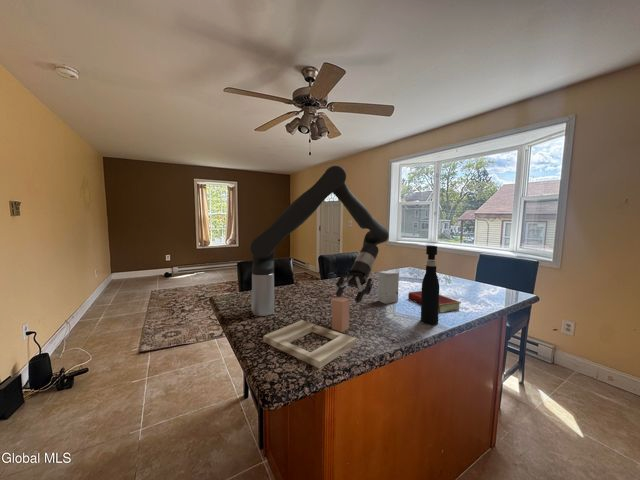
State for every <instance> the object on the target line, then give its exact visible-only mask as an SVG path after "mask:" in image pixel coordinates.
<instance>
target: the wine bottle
mask: <svg viewBox="0 0 640 480" xmlns="http://www.w3.org/2000/svg"><path fill="white" fill-rule="evenodd" d="M425 251H426V253H425V254H426V255H427V260H426V265H425V274H424V275H423V278H422V281H421V291H422V294H421V304H420V322H421V323H422V322H423V324H425V325H429V324H430V325H429V326H434V325H438V324H439V315H440V314H439V295H440V282H439V278H438V275H437V263H436V255H438V246H437V245H426V250H425Z"/></svg>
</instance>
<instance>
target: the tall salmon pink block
mask: <svg viewBox="0 0 640 480" xmlns="http://www.w3.org/2000/svg"><path fill="white" fill-rule="evenodd" d="M348 329H350V298H346V297H344V296H343V297H342V296H341V297H334V298H333V299H331V330H333V331H336V332H339V333H344V332H345V331H347V330H348Z"/></svg>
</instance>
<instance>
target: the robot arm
mask: <svg viewBox="0 0 640 480" xmlns="http://www.w3.org/2000/svg"><path fill="white" fill-rule="evenodd" d="M346 180H347V172H346V170H345V169H344V167H342V166H340V165H331V166H330V167H328V168H327V169H326V170H325V172H324V173H323V174H322V176H320V178H319V179H318V180H317V181H316V182H315V183H314V184H313V185H312V186H311V187H310V188H308V189H307V190H306V191H304V192H303V193H302V194H301V195H299V196H298V197H297V198H296V199H295V200H294V201H292V202H291V203H290V204H289V206H288V207H286V209H284V210H283V212H282V213H280V215H279V216H278V217H277V219H276V220H275V221H274V222H273V224H271V225H270V226H269V227H268V228H267V229H266V230H264V231H263V232H262V233H260V234H259V235H258V236H256V237H255V238H254V239H253V240H252V241H251V243H250V247H249V249H250V253H251V254H252V265H251V290H250V303H251V304H250V305H251V307H250V308H251V311H250V313H252V315H253V316H257V317H266V316H270V315H273V314H274V313H275V250H276V249H275V248H277V247H278V245H280V243H281V242H282V241H283V240H284V239H285V238H286V237H287V236H289V235H290V234H291V233H292V232H294V231H296V230H297V229H298V228H299V227H300V226H301V225H303V224H304V223H305V222H306V221H307V220H308V219H309V218H310V217H311V216H312V215H313V214H314V212H316V210H317V209H318V208H319V207H320V206H321V204H322V203H323V202H324V200H325V199H327V198H328V197H329V196H330V195H331V194H333V195H334V196H335V197H336V198H337V199H338V200H339V201H340V202H341V204H342V205H343V206H344V208H346V210H347V211H348V213H349V214H350V216H351V217H352V218H353V220H354V221H355V223H357V226H359V228H361V229H362V230H364V229H368V231H367V232H366V234H365V236H364V239H363V243H362V247H361V250H360V251H359V253H358V254H357V257H356V258H355V260H354V262H353V264H352V266H351V268H350V270H349V273H348V274H346V275H345V274H344V273H341V274H340V277H339V278H338V279H337V281H336V284H335V285H336V287H337V292H336V293H335V298H337V297H342V296H343V293H344V291H345V290H346V289H349V288H355V289H358V290H359V291H357V294H356V296H355V298H354V302H355V303H356V304H359V303H361V301H362V299H363V297H364V295H367V296H368V295H370V293H371V292H372V291H371V290H372V288H373V285H374V281H373V279H372V277H369V276H370V274H371V271H372V270H373V267H374V265H375V261H376V259H377V257H378V254H379V250H380V249H379V248H378V245H380V244H384V243H386V242H387V241H388V240H389V234H390V233H389V231H388V229H387V228H386V226H384V225H383V224H382V223H380V222H379V221H378V220H377V219H376V218H375V217H373V215H372V214H371V212H370V211H369V210H368V208H367V207H366V206H365V205H364V203H362V202H361V201H360V199H358V198H357V197H356V196H355V194H353V192H352V191H351V190H350V188H349V187H348V185H347V184H346V183H347V182H346ZM365 284H366V285H365ZM364 285H365V287H364Z"/></svg>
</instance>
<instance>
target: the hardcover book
mask: <svg viewBox="0 0 640 480" xmlns="http://www.w3.org/2000/svg"><path fill="white" fill-rule="evenodd" d="M421 294H422V290H420V291H408V295H407V297H408V300H410V301H413V302H415V303H417V304H419V305H421ZM460 304H461V301H459V300H456V299H453V298H450V297H448V296H444V295H442V294H439V313H443V312H444V313H445V312H451V311H459V310H460Z"/></svg>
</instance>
